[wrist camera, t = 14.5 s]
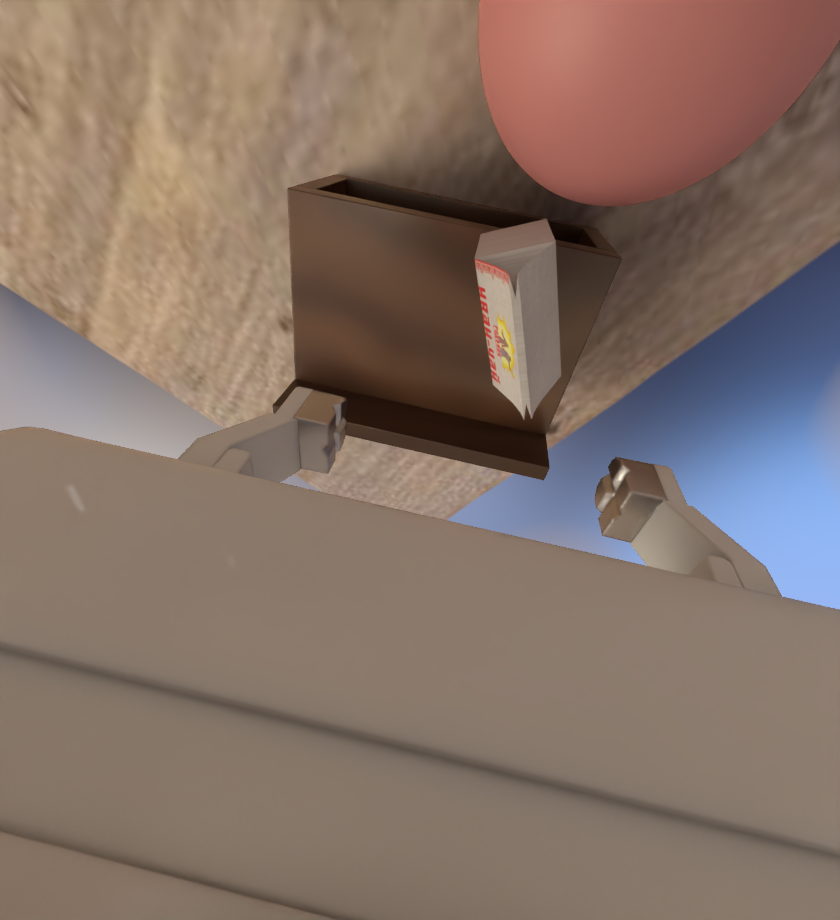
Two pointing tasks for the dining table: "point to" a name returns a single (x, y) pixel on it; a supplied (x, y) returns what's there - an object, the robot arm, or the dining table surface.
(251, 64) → the dining table surface
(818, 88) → the dining table surface
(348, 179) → the rack
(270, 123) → the dining table surface
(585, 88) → the balloon
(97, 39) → the dining table surface
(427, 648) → the robot arm
